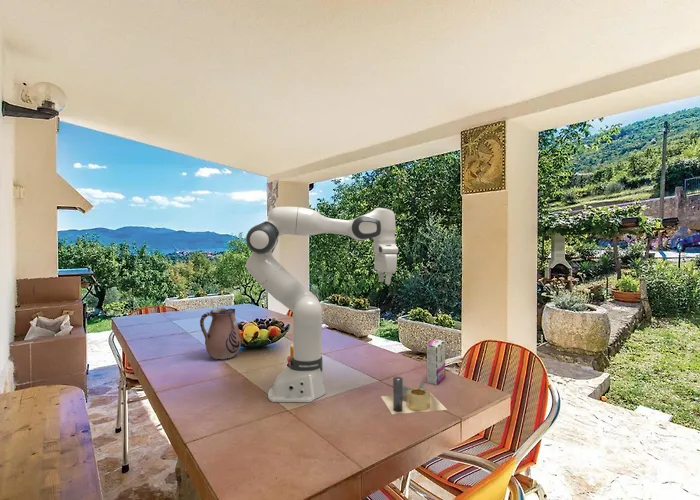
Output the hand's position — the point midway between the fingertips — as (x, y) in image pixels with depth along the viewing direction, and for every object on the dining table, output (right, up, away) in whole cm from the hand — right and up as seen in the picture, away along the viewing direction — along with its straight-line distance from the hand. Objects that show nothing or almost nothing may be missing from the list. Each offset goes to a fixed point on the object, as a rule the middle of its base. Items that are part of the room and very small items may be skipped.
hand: (384, 282), depth 147 cm
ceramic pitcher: (-81, -44, +44) cm, 102 cm away
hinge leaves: (+10, -42, -14) cm, 46 cm away
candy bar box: (+24, -44, +13) cm, 51 cm away
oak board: (+9, -44, -14) cm, 47 cm away
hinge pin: (+3, -43, -20) cm, 47 cm away
